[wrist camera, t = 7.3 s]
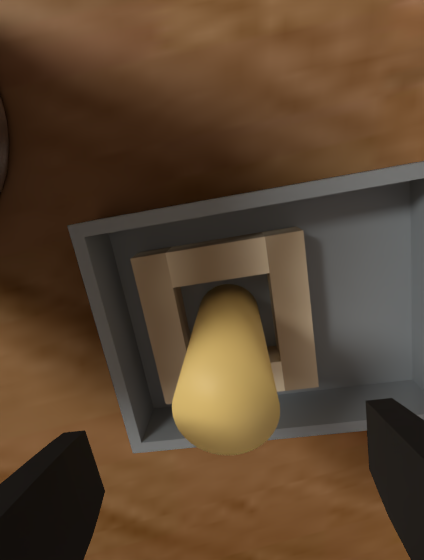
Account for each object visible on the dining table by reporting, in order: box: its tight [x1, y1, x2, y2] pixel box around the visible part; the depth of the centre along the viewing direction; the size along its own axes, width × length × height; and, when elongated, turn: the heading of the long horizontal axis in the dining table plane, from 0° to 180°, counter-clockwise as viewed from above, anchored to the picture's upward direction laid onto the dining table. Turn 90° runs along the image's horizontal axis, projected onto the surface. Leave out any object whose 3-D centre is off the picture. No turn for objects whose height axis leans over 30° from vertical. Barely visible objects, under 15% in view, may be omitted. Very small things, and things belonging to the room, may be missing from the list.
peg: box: [172, 284, 280, 455], centre depth 13 cm, size 3×3×8 cm
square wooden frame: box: [130, 226, 319, 404], centre depth 16 cm, size 8×8×2 cm
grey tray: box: [67, 161, 424, 453], centre depth 16 cm, size 16×12×3 cm
